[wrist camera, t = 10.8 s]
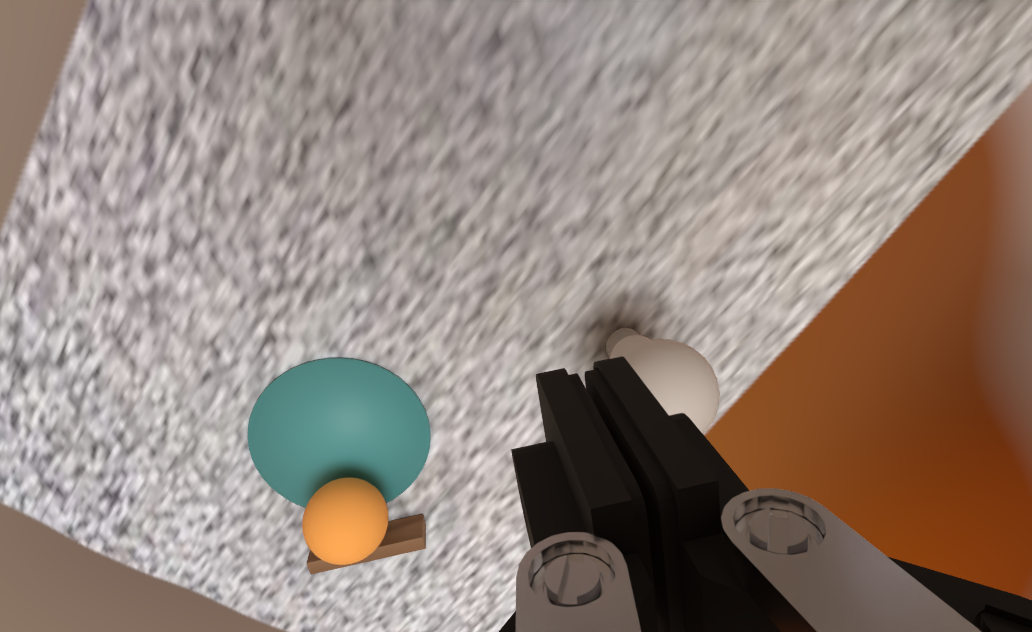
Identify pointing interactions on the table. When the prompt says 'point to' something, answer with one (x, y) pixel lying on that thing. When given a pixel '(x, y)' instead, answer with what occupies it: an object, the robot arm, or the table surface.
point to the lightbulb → (670, 374)
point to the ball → (345, 521)
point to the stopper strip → (385, 543)
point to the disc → (338, 429)
